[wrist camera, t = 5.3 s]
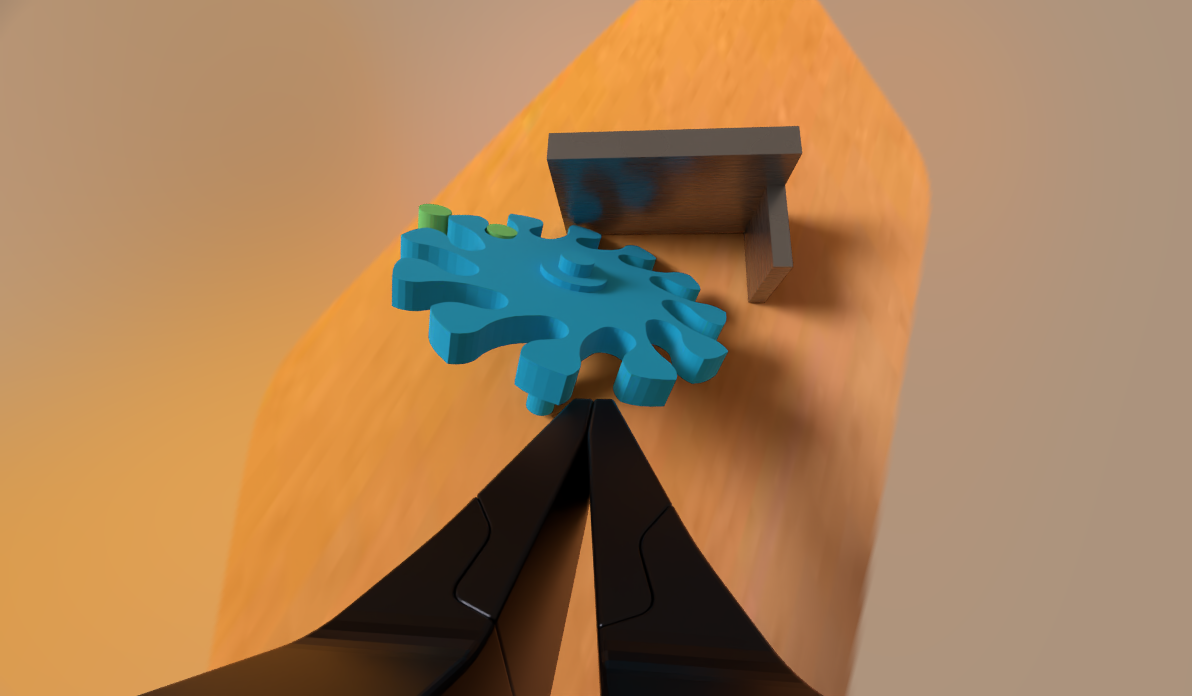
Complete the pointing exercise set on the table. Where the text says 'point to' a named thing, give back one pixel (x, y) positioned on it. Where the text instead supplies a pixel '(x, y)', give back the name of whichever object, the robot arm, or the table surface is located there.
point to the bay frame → (684, 188)
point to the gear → (555, 306)
